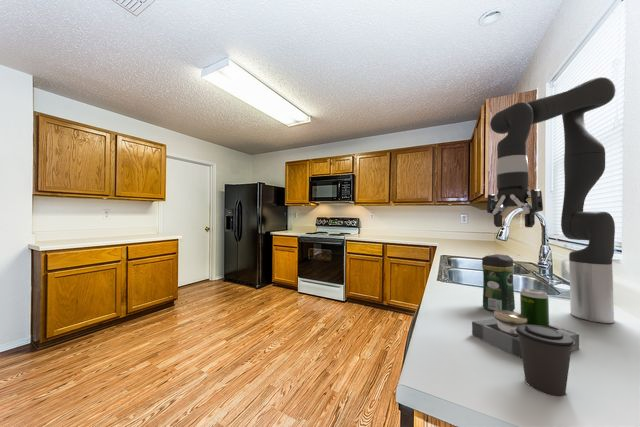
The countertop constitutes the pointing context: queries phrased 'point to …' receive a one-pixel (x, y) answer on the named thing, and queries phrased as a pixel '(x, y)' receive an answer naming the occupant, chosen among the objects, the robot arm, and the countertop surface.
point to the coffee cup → (545, 358)
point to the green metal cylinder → (535, 307)
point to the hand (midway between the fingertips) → (512, 227)
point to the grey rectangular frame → (508, 336)
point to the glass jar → (509, 321)
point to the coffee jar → (498, 283)
